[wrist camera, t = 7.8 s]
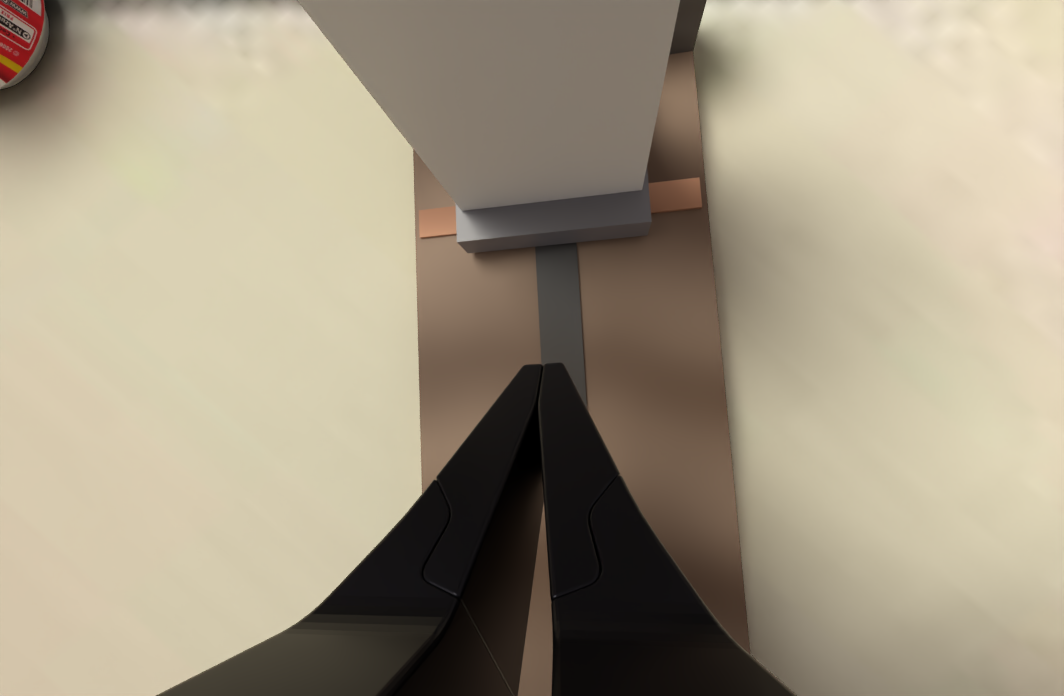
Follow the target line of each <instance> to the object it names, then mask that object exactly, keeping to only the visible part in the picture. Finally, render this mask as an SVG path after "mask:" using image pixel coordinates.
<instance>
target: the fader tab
mask: <svg viewBox="0 0 1064 696" xmlns="http://www.w3.org/2000/svg"><path fill="white" fill-rule="evenodd" d="M297 1H298V2H299V3H300V5H301V6H302V7H303V8H304V10H305V11H306V12H307V13H308V15H309V16H310V17H311V19H312V20H313V21H314V22H315V24H316V25H317V26H318V28H319V29H320V30H321V31H322V33H323V34H324V35H325V36H326V38H327V39H328V40H329V42H330V43H331V44H332V45H333V47H334V48H335V49H336V51H337V52H338V53H339V54H340V56H341V57H342V58H343V60H344V61H345V62H346V63H347V65H348V66H349V67H350V68H351V70H352V71H353V72H354V74H355V75H356V76H357V77H358V79H359V80H360V81H361V83H362V84H363V85H364V86H365V88H366V89H367V90H368V92H369V93H370V94H371V95H372V97H373V98H374V99H375V100H376V102H377V103H378V104H379V106H380V107H381V108H382V109H383V111H384V112H385V113H386V115H387V116H388V117H389V118H390V120H391V121H392V122H393V124H394V125H395V126H396V127H397V129H398V130H399V131H400V132H401V134H402V135H403V136H404V138H405V139H406V140H407V141H408V143H409V144H410V145H411V147H412V148H413V149H414V150H415V152H416V153H417V154H418V155H419V157H420V158H421V159H422V161H423V162H424V163H425V164H426V166H427V167H428V168H429V170H430V171H431V172H432V173H433V175H434V176H435V177H436V179H437V180H438V181H439V182H440V184H441V185H442V186H443V187H444V189H445V190H446V191H447V193H448V194H449V195H450V196H451V198H452V199H453V200H454V202H455V204H456V232H457V243H458V244H459V245H460V246H461V247H462V248H463V249H464V250H465V251H466V252H467V253H478V252H487V251H497V250H507V249H517V248H527V247H537V246H547V245H557V244H567V243H577V242H587V241H596V240H606V239H616V238H626V237H636V236H646V235H648V232H649V229H650V225H651V222H652V221H651V208H650V196H649V184H648V171H647V163H648V158H649V153H650V148H651V143H652V138H653V133H654V128H655V123H656V118H657V113H658V108H659V103H660V98H661V93H662V88H663V83H664V78H665V73H666V68H667V63H668V58H669V53H670V48H671V43H672V38H673V33H674V28H675V23H676V18H677V13H678V8H679V3H680V0H297Z"/></svg>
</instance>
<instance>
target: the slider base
mask: <svg viewBox="0 0 1064 696" xmlns="http://www.w3.org/2000/svg"><path fill="white" fill-rule="evenodd" d="M705 4H706V0H680V3H679V8H678V13H677V18H676V23H675V28H674V33H673V38H672V43H671V48H670V53H669V58H668V63H667V68H666V73H665V78H664V83H663V88H662V93H661V98H660V103H659V108H658V113H657V118H656V123H655V128H654V133H653V138H652V143H651V148H650V153H649V158H648V163H647V171H648V184H649V196H650V208H651V221H652V222H651V225H650V229H649V232H648V235H646V236H636V237H626V238H616V239H606V240H596V241H587V242H577V243H567V244H557V245H547V246H537V247H527V248H517V249H507V250H497V251H487V252H478V253H467V252H466V251H465V250H464V249H463V248H462V247H461V246H460V245H459V244H458V243H457V232H456V204H455V202H454V200H453V199H452V198H451V196H450V195H449V194H448V193H447V191H446V190H445V189H444V187H443V186H442V185H441V184H440V182H439V181H438V180H437V179H436V177H435V176H434V175H433V173H432V172H431V171H430V170H429V168H428V167H427V166H426V164H425V163H424V162H423V161H422V159H421V158H420V157H419V155H418V154H417V153H416V152H415V150H414V149H413V156H414V195H415V234H416V273H417V312H418V351H419V390H420V428H421V467H422V494H423V492H424V491H425V490H426V489H427V487H428V486H429V485H430V484H431V482H432V481H433V480H436V476H437V475H438V474H439V472H440V471H441V470H442V468H443V467H444V466H445V465H446V463H447V462H448V461H449V460H450V458H451V457H452V456H453V454H454V453H455V452H456V451H457V449H458V448H459V447H460V445H461V444H462V443H463V442H464V440H465V439H466V438H467V437H468V435H469V434H470V433H471V431H472V430H473V429H474V428H475V426H476V425H477V424H478V422H479V421H480V420H481V419H482V417H483V416H484V415H485V414H486V412H487V411H488V410H489V408H490V407H491V406H492V405H493V403H494V402H495V401H496V399H497V398H498V397H499V396H500V394H501V393H502V392H503V391H504V389H505V388H506V387H507V385H508V384H509V383H510V382H511V380H512V379H513V378H514V377H515V375H516V374H517V373H518V371H519V370H520V369H521V368H522V366H524V365H527V364H542V365H543V366H544V364H546V363H563V364H564V366H565V367H566V369H567V371H568V373H569V375H570V377H571V379H572V381H573V383H574V385H575V387H576V389H577V391H578V393H579V394H580V396H581V398H582V400H583V402H584V404H585V406H586V408H587V410H588V412H589V414H590V416H591V418H592V420H593V422H594V423H595V425H596V427H597V429H598V431H599V433H600V435H601V437H602V439H603V441H604V443H605V445H606V447H607V449H608V451H609V453H610V454H611V456H612V458H613V460H614V462H615V464H616V466H617V468H618V470H619V472H620V476H622V477H623V479H624V481H625V483H626V485H627V487H628V489H629V491H630V493H631V494H632V496H633V498H634V500H635V501H636V503H637V505H638V507H639V508H640V510H641V512H642V514H643V515H644V517H645V518H646V520H647V521H648V523H649V524H650V526H651V528H652V529H653V531H654V532H655V534H656V535H657V537H658V538H659V540H660V541H661V543H662V544H663V545H664V547H665V548H666V550H667V551H668V552H669V554H670V555H671V557H672V558H673V559H674V561H675V562H676V564H677V565H678V567H679V568H680V569H681V571H682V572H683V574H684V575H685V576H686V578H687V579H688V581H689V582H690V583H691V585H692V586H693V588H694V589H695V591H696V592H697V593H698V595H699V596H700V598H701V599H702V600H703V602H704V603H705V605H706V606H707V607H708V609H709V610H710V611H711V613H712V614H713V615H714V617H715V618H716V619H717V620H718V622H719V623H720V624H721V625H722V627H723V628H724V629H725V630H726V631H727V632H728V633H729V635H730V636H731V637H732V638H733V639H734V640H735V641H736V642H737V643H738V644H739V645H740V646H741V647H742V648H743V649H744V650H745V651H747V652H748V653H749V654H750V647H749V636H748V626H747V615H746V605H745V594H744V584H743V573H742V562H741V552H740V541H739V531H738V520H737V510H736V499H735V489H734V478H733V468H732V457H731V447H730V436H729V426H728V415H727V405H726V394H725V383H724V373H723V362H722V352H721V341H720V331H719V320H718V310H717V299H716V289H715V278H714V268H713V257H712V247H711V236H710V226H709V215H708V204H707V194H706V183H705V173H704V162H703V152H702V141H701V131H700V120H699V110H698V99H697V89H696V78H695V68H694V57H693V49H694V45H695V41H696V37H697V34H698V30H699V26H700V22H701V19H702V15H703V11H704V8H705ZM551 603H552V602H551V597H550V583H549V569H548V554H547V540H546V525H545V511H544V504H543V511H542V518H541V526H540V533H539V541H538V548H537V556H536V563H535V571H534V578H533V586H532V593H531V601H530V608H529V616H528V623H527V631H526V638H525V646H524V653H523V661H522V668H521V676H520V683H519V691H518V696H552V660H553V634H552V612H551Z"/></svg>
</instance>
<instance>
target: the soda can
mask: <svg viewBox="0 0 1064 696" xmlns="http://www.w3.org/2000/svg"><path fill="white" fill-rule="evenodd" d="M48 37H49V20H48V17H47V13H46V11H45V5H44V0H0V89H5V88H8V87H11V86H14V85H15V84H17V83H19V82H21V81H22V80H23V79H25V78H26V77H27V76H28V75H29V74H30V73H31V72H32V71H33V70H34V69H35V67H36V66H37V65H38V63H39V61H40V60H41V58H42V56H43V54H44V52H45V49H46V46H47V43H48Z"/></svg>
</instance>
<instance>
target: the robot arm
mask: <svg viewBox="0 0 1064 696" xmlns="http://www.w3.org/2000/svg"><path fill="white" fill-rule="evenodd" d="M543 504H544V511H545V525H546V540H547V554H548V569H549V583H550V597H551V602H552V603H551V612H552V634H553V660H552V696H797V695H796V694H795V693H794V692H792V691H791V690H790V689H789V688H788V687H787V686H786V685H784V684H783V683H782V682H781V681H780V680H779V679H778V678H776V677H775V676H774V675H773V674H772V673H771V672H770V671H768V670H767V669H766V668H765V667H764V666H763V665H761V664H760V663H759V662H758V661H757V660H756V659H755V658H753V657H752V656H751V655H750V654H749V653H748V652H747V651H745V650H744V649H743V648H742V647H741V646H740V645H739V644H738V643H737V642H736V641H735V640H734V639H733V638H732V637H731V636H730V635H729V633H728V632H727V631H726V630H725V629H724V628H723V627H722V625H721V624H720V623H719V622H718V620H717V619H716V618H715V617H714V615H713V614H712V613H711V611H710V610H709V609H708V607H707V606H706V605H705V603H704V602H703V600H702V599H701V598H700V596H699V595H698V593H697V592H696V591H695V589H694V588H693V586H692V585H691V583H690V582H689V581H688V579H687V578H686V576H685V575H684V574H683V572H682V571H681V569H680V568H679V567H678V565H677V564H676V562H675V561H674V559H673V558H672V557H671V555H670V554H669V552H668V551H667V550H666V548H665V547H664V545H663V544H662V543H661V541H660V540H659V538H658V537H657V535H656V534H655V532H654V531H653V529H652V528H651V526H650V524H649V523H648V521H647V520H646V518H645V517H644V515H643V514H642V512H641V510H640V508H639V507H638V505H637V503H636V501H635V500H634V498H633V496H632V494H631V493H630V491H629V489H628V487H627V485H626V483H625V481H624V479H623V477H622V476H620V472H619V470H618V468H617V466H616V464H615V462H614V460H613V458H612V456H611V454H610V453H609V451H608V449H607V447H606V445H605V443H604V441H603V439H602V437H601V435H600V433H599V431H598V429H597V427H596V425H595V423H594V422H593V420H592V418H591V416H590V414H589V412H588V410H587V408H586V406H585V404H584V402H583V400H582V398H581V396H580V394H579V393H578V391H577V389H576V387H575V385H574V383H573V381H572V379H571V377H570V375H569V373H568V371H567V369H566V367H565V366H564V364H563V363H546V364H544V366H543V365H542V364H527V365H524V366H522V368H521V369H520V370H519V371H518V373H517V374H516V375H515V377H514V378H513V379H512V380H511V382H510V383H509V384H508V385H507V387H506V388H505V389H504V391H503V392H502V393H501V394H500V396H499V397H498V398H497V399H496V401H495V402H494V403H493V405H492V406H491V407H490V408H489V410H488V411H487V412H486V414H485V415H484V416H483V417H482V419H481V420H480V421H479V422H478V424H477V425H476V426H475V428H474V429H473V430H472V431H471V433H470V434H469V435H468V437H467V438H466V439H465V440H464V442H463V443H462V444H461V445H460V447H459V448H458V449H457V451H456V452H455V453H454V454H453V456H452V457H451V458H450V460H449V461H448V462H447V463H446V465H445V466H444V467H443V468H442V470H441V471H440V472H439V474H438V475H437V476H436V480H433V481H432V482H431V484H430V485H429V486H428V487H427V489H426V490H425V491H424V492H423V494H422V495H421V496H420V497H419V499H418V500H417V501H416V502H415V503H414V505H413V506H412V507H411V508H410V509H409V511H408V512H407V513H406V514H405V516H404V517H403V518H402V519H401V520H400V521H399V522H398V523H397V524H396V525H395V526H394V528H393V529H392V530H391V531H390V532H389V533H388V534H387V535H386V536H385V537H384V539H383V540H382V541H381V542H380V543H379V544H378V545H377V546H376V547H375V548H374V549H373V550H372V551H371V552H370V553H369V554H368V555H367V556H366V557H365V558H364V560H363V561H362V562H361V563H360V564H359V565H358V566H357V567H356V568H355V569H354V570H353V571H352V572H351V573H350V574H349V575H348V576H347V577H346V578H345V579H344V580H343V581H342V583H341V584H340V585H339V586H338V587H337V588H336V589H335V590H334V591H333V592H332V593H331V594H330V595H329V596H328V597H327V598H326V599H325V600H324V601H323V602H322V603H321V604H320V605H319V606H318V607H316V608H315V609H314V610H313V611H312V612H311V613H310V614H308V615H307V616H306V617H304V618H303V619H302V620H300V621H299V622H298V623H296V624H294V625H293V626H291V627H290V628H288V629H287V630H285V631H283V632H281V633H279V634H277V635H275V636H273V637H271V638H269V639H267V640H265V641H263V642H261V643H259V644H257V645H255V646H253V647H251V648H249V649H247V650H245V651H244V652H242V653H240V654H238V655H236V656H234V657H232V658H230V659H228V660H226V661H224V662H222V663H220V664H218V665H216V666H214V667H212V668H210V669H208V670H206V671H204V672H202V673H200V674H198V675H196V676H194V677H192V678H190V679H188V680H186V681H184V682H182V683H180V684H178V685H176V686H174V687H172V688H170V689H168V690H166V691H164V692H162V693H160V694H158V695H156V696H518V691H519V683H520V676H521V668H522V661H523V653H524V646H525V638H526V631H527V623H528V616H529V608H530V601H531V593H532V586H533V578H534V571H535V563H536V556H537V548H538V541H539V533H540V526H541V518H542V511H543Z"/></svg>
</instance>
